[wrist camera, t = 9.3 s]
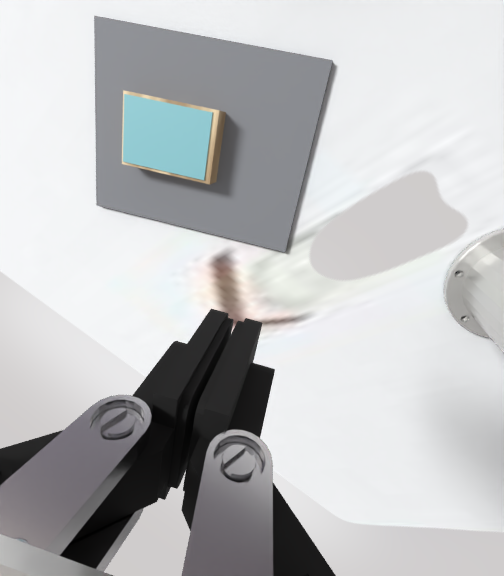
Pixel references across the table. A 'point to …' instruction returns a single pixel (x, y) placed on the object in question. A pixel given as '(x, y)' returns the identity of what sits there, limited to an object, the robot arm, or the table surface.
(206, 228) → the rubber mat
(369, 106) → the table surface
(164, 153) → the maple tile
